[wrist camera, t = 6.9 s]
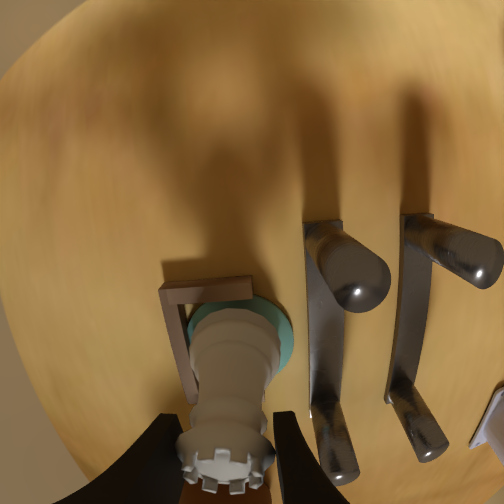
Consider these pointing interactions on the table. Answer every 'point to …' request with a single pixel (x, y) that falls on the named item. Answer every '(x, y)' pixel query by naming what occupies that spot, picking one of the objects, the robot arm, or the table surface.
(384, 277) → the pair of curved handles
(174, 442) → the robot arm
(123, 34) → the table surface
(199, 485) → the mug
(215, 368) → the rook chess piece
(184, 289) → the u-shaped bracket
